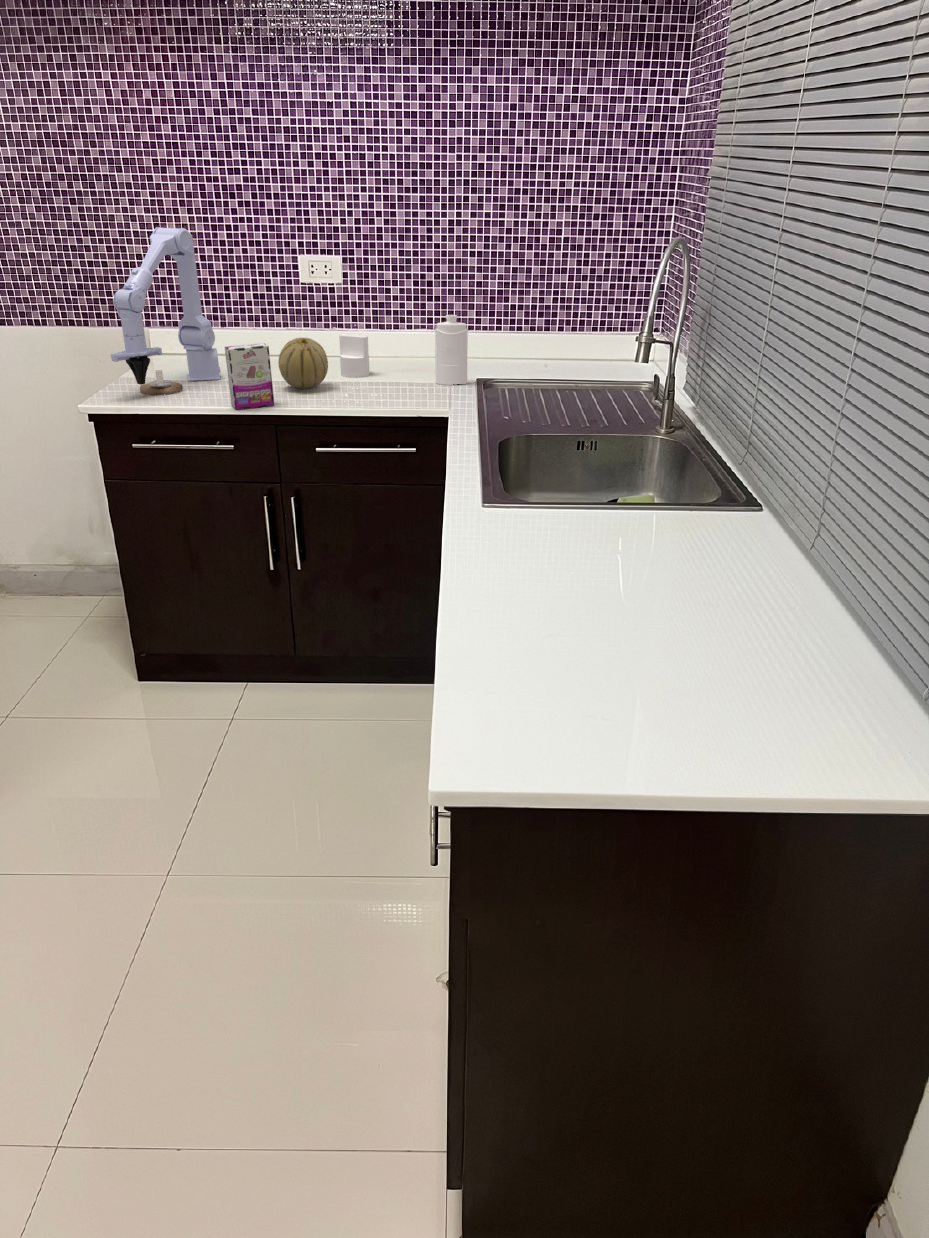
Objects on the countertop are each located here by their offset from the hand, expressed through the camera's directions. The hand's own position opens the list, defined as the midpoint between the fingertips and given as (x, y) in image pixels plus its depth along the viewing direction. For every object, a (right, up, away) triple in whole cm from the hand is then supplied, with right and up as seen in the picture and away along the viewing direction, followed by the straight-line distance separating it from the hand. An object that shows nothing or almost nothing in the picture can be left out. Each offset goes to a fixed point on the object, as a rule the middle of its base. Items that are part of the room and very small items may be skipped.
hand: (141, 383), depth 265 cm
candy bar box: (+33, -8, -7) cm, 35 cm away
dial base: (+3, 0, +8) cm, 9 cm away
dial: (+3, +1, +7) cm, 8 cm away
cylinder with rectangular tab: (+58, +10, +30) cm, 66 cm away
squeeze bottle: (+88, +5, +19) cm, 90 cm away
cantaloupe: (+45, +2, +12) cm, 46 cm away
